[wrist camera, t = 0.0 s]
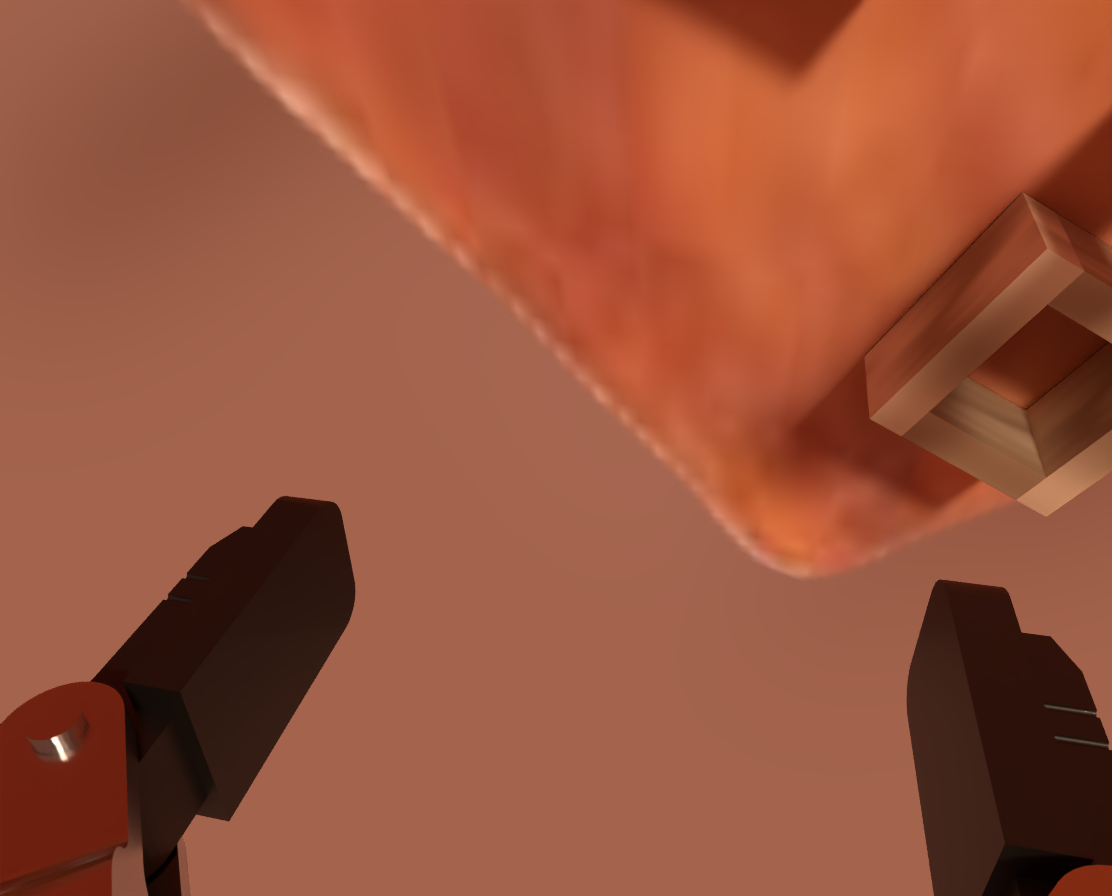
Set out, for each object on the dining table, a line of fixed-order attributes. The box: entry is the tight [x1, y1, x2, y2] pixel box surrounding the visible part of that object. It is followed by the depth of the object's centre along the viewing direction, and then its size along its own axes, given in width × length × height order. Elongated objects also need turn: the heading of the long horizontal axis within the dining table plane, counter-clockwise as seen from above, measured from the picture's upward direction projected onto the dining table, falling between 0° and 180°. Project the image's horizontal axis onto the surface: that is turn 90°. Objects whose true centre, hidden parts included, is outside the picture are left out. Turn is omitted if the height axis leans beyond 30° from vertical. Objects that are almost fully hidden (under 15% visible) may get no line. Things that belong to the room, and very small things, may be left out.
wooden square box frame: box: [864, 193, 1112, 517], centre depth 30 cm, size 8×8×4 cm
